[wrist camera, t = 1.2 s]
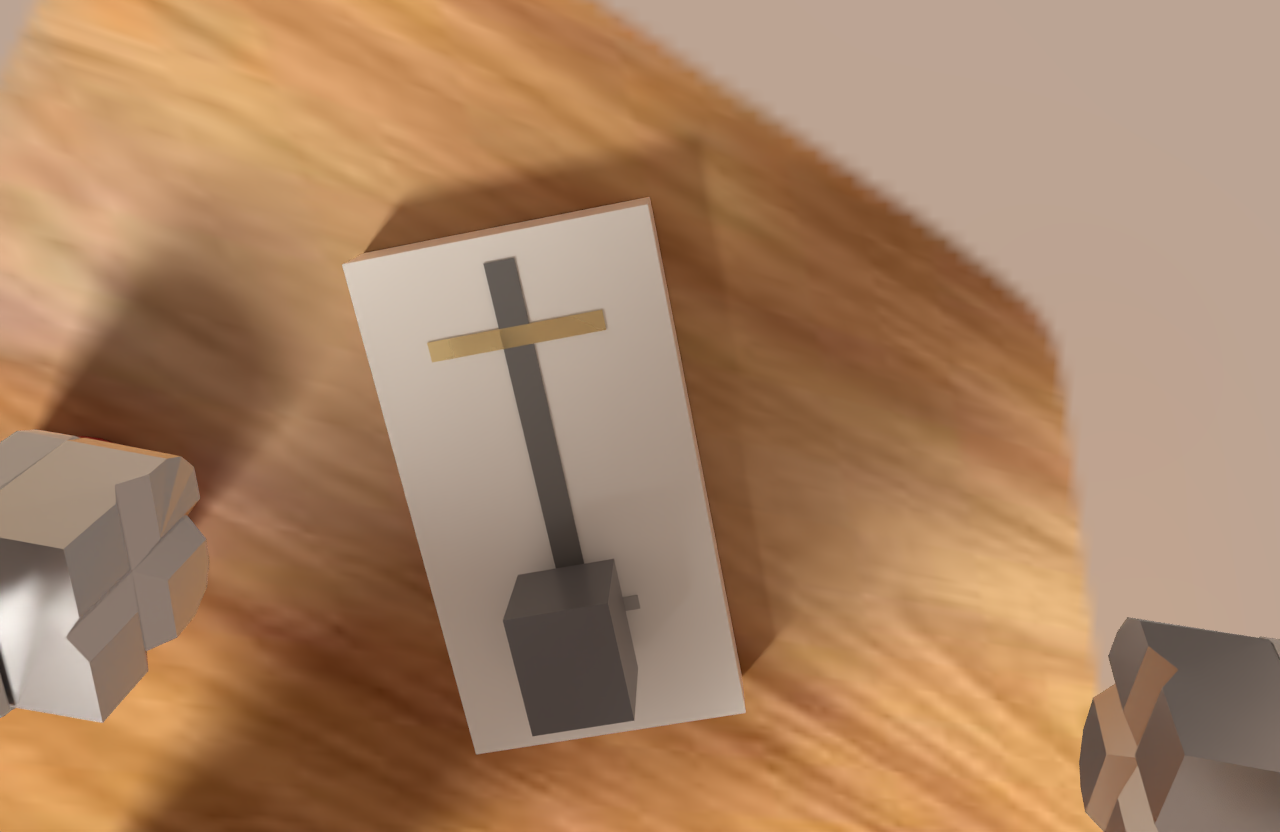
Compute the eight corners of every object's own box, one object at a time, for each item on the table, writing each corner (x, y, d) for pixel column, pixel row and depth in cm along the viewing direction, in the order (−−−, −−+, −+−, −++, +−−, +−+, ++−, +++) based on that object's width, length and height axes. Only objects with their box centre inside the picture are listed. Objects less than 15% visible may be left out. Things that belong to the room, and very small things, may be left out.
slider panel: (742, 677, 50) (745, 714, 47) (487, 717, 51) (475, 755, 48) (649, 196, 44) (647, 204, 41) (363, 253, 45) (341, 264, 42)
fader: (638, 660, 46) (634, 720, 42) (546, 675, 47) (532, 736, 42) (614, 552, 45) (607, 603, 41) (519, 568, 45) (502, 620, 41)
